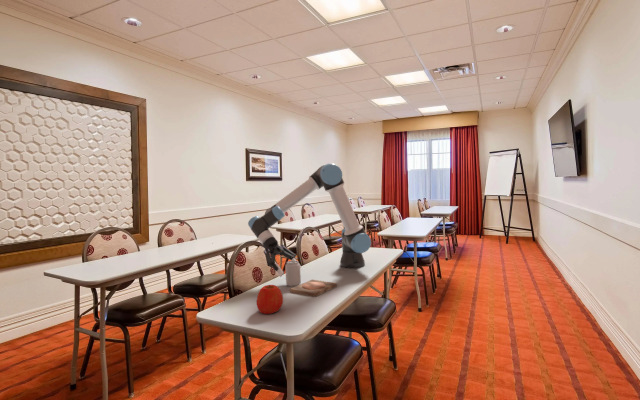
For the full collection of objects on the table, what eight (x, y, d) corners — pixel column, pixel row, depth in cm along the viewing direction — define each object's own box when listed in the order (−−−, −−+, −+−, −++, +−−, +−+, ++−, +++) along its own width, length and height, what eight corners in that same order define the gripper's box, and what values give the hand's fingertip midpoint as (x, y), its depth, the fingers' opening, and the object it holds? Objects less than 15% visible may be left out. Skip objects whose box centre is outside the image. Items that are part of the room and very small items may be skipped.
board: (312, 282, 177) (312, 278, 177) (336, 286, 169) (336, 282, 169) (290, 291, 162) (289, 288, 162) (315, 296, 154) (315, 292, 154)
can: (283, 285, 174) (282, 262, 173) (294, 282, 179) (292, 259, 179) (293, 288, 169) (292, 263, 168) (304, 284, 174) (302, 261, 174)
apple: (286, 313, 135) (285, 286, 135) (259, 317, 132) (258, 290, 131) (280, 304, 145) (279, 279, 145) (254, 308, 142) (253, 283, 141)
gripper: (280, 241, 194) (302, 270, 186) (247, 249, 173) (270, 282, 165) (287, 232, 190) (309, 262, 182) (254, 239, 170) (278, 272, 162)
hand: (291, 271), depth 174 cm, fingers open, 13 cm apart
